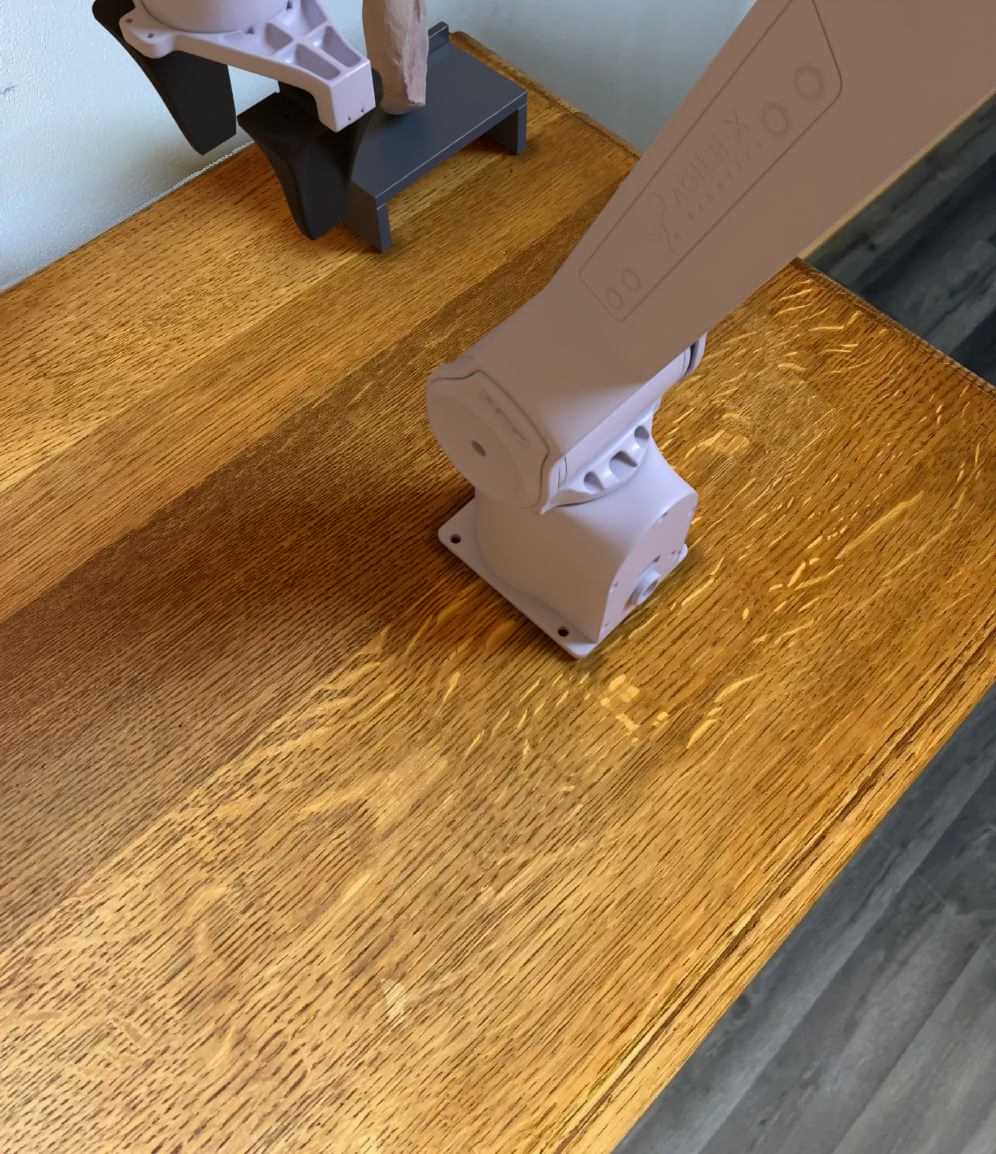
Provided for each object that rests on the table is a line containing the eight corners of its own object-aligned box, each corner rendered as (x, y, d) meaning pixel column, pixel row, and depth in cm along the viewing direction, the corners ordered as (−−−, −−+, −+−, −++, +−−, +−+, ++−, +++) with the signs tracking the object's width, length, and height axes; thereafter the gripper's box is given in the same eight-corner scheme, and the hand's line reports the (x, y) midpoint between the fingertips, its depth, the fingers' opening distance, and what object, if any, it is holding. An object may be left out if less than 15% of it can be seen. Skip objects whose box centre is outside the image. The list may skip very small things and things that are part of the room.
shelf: (526, 148, 61) (528, 75, 57) (382, 253, 57) (372, 183, 53) (445, 95, 64) (441, 19, 59) (302, 192, 60) (286, 120, 55)
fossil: (419, 155, 55) (404, -24, 47) (359, 144, 56) (332, -35, 47) (446, 86, 58) (437, -96, 49) (388, 77, 58) (368, -106, 49)
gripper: (-40, -183, 34) (100, 149, 46) (230, 3, 30) (307, 318, 42) (128, -259, 37) (220, 76, 49) (403, -97, 32) (428, 228, 44)
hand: (268, 182), depth 45 cm, fingers open, 7 cm apart
